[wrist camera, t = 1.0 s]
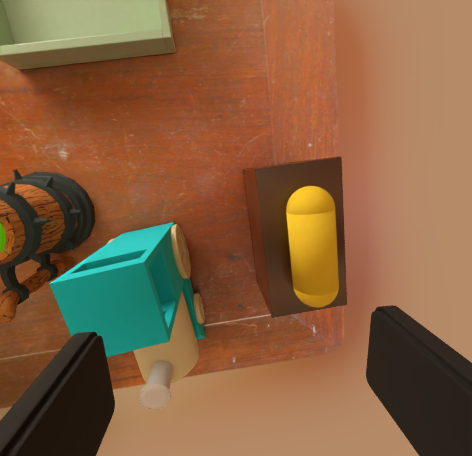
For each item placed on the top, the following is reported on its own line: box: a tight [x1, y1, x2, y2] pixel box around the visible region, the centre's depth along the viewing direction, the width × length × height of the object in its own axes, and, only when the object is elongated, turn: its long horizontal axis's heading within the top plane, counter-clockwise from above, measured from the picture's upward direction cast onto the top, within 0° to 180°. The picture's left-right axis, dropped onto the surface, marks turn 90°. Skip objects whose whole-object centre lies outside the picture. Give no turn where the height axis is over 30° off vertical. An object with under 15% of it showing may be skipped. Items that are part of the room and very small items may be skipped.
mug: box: [0, 170, 95, 323], centre depth 25 cm, size 13×10×12 cm
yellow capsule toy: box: [286, 186, 339, 307], centre depth 22 cm, size 11×4×4 cm, turn 8°
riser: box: [243, 157, 347, 318], centre depth 29 cm, size 15×8×9 cm, turn 8°
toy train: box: [50, 222, 206, 409], centre depth 26 cm, size 8×17×15 cm, turn 12°
